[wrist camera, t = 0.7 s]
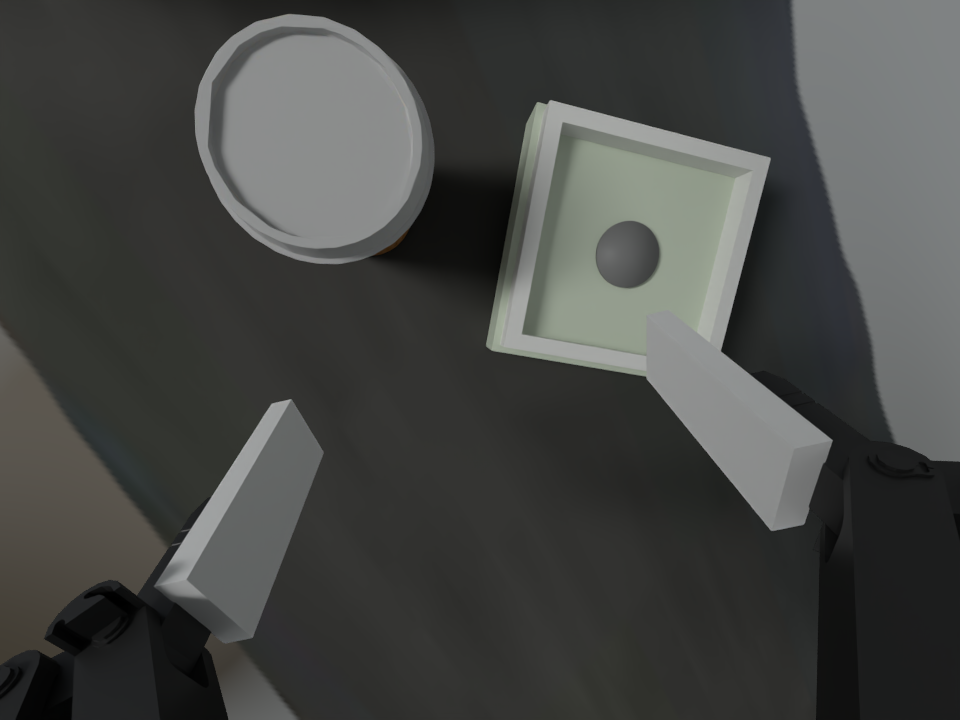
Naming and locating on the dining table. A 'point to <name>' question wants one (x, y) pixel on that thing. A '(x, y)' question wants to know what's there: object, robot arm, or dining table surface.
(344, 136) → the disposable coffee cup
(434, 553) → the dining table surface
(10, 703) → the robot arm
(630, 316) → the square rimmed tray
